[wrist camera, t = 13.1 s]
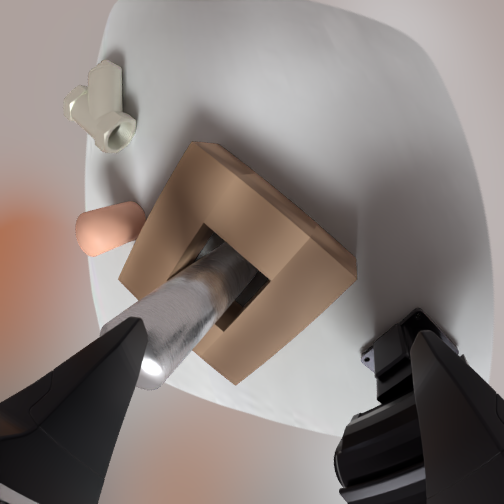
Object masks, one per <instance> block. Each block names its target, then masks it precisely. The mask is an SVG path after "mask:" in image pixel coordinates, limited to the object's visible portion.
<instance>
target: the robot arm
mask: <svg viewBox="0 0 504 504" xmlns="http://www.w3.org/2000/svg"><path fill="white" fill-rule="evenodd" d="M417 314H421V315H420V316H419V317H416V315H417ZM147 343H148V334H147V331H146V328H145V325H144V322H143V320H142V319H141V318H140V317H133V316H130V317H128V318H127V319H125V320H124V321H122V322H121V323H119V324H118V325H116V326H115V327H114V328H112V329H111V330H109V331H108V332H106V333H105V334H103V335H102V336H101V337H99V338H98V339H96V340H95V341H93V342H92V343H90V344H89V345H88V346H86V347H85V348H83V349H82V350H80V351H79V352H78V353H76V354H75V355H73V356H72V357H70V358H69V359H68V360H66V361H65V362H63V363H62V364H61V365H59V366H58V367H56V368H55V369H54V370H53V371H51V372H49V373H48V374H46V375H45V376H44V377H42V378H40V379H39V380H37V381H36V382H35V383H33V384H31V385H30V386H28V387H26V388H25V389H23V390H21V391H20V392H18V393H16V394H15V395H13V396H11V397H9V398H8V399H6V400H4V401H3V402H1V403H0V504H98V500H99V497H100V494H101V490H102V487H103V483H104V480H105V479H104V478H105V476H106V473H107V469H108V466H109V463H110V459H111V456H112V453H113V450H114V447H115V444H116V441H117V437H118V435H119V432H120V429H121V426H122V423H123V420H124V417H125V414H126V411H127V408H128V406H129V403H130V400H131V397H132V395H133V392H134V389H135V386H136V384H137V381H138V378H139V374H140V370H141V366H142V362H143V358H144V354H145V350H146V347H147ZM458 354H459V351H458V349H457V347H456V346H455V345H454V344H453V343H452V342H451V340H450V339H449V338H448V337H447V336H446V335H445V334H444V333H443V332H442V330H441V329H440V328H439V327H438V326H437V325H436V324H435V323H434V322H433V321H432V320H431V319H430V317H429V316H428V315H427V314H426V313H425V312H424V311H423V310H422V309H419V308H418V309H415V310H414V311H413V312H411V313H410V314H409V315H408V316H407V317H406V318H405V319H404V320H403V321H402V322H400V323H399V324H396V325H395V326H393V327H392V328H391V329H390V330H389V331H388V332H386V333H385V334H384V335H383V336H382V337H381V338H379V339H378V340H377V341H376V342H374V345H373V346H372V347H371V348H369V349H368V350H367V351H366V352H364V353H363V354H362V356H361V362H362V363H363V364H364V365H365V366H367V367H368V368H369V369H370V370H371V371H373V372H374V373H375V378H376V379H377V400H378V401H379V402H380V403H381V405H379V406H377V407H375V408H373V409H371V410H369V411H366V412H364V413H359V414H357V415H354V416H353V418H352V420H351V422H350V423H349V424H348V425H347V426H346V428H345V431H344V434H343V437H342V439H341V441H340V443H339V445H338V446H337V448H336V451H335V455H334V467H335V472H336V475H337V478H338V480H339V482H340V484H341V485H342V486H343V488H340V490H339V493H340V494H341V496H342V497H343V498H344V499H345V501H346V502H347V503H348V504H504V400H503V399H502V398H501V397H500V395H499V394H496V392H495V390H494V389H493V388H491V386H490V385H489V384H488V383H486V382H485V381H484V380H483V379H482V378H481V377H480V376H479V375H478V374H477V373H476V372H475V371H474V370H473V369H472V368H471V367H470V366H469V364H468V362H467V360H466V358H465V356H464V354H463V355H461V356H460V357H459V356H458ZM366 357H369V359H365V358H366Z"/></svg>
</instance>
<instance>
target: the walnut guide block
mask: <svg viewBox="0 0 504 504" xmlns="http://www.w3.org/2000/svg"><path fill="white" fill-rule="evenodd" d="M214 232H215V233H216V234H218V235H219V236H220V237H221V238H222V239H223V240H224V241H226V242H227V243H228V244H229V245H230V246H231V247H233V248H234V249H235V250H236V251H237V252H238V253H239V254H241V255H242V256H243V257H244V258H245V259H246V260H248V261H249V262H250V263H251V264H252V265H253V266H255V267H256V268H257V269H258V270H259V271H260V272H262V273H263V274H264V275H265V276H266V277H267V278H269V279H268V280H267V282H266V283H265V284H264V285H263V286H262V287H261V288H260V289H259V290H258V291H257V293H256V294H255V295H254V296H253V297H252V298H251V299H250V300H249V301H248V302H247V304H246V305H245V306H244V307H242V306H241V305H240V304H238V303H237V302H236V301H235V300H234V301H233V303H232V304H231V305H230V306H229V307H228V309H227V310H226V311H225V312H224V313H223V314H222V316H221V317H220V318H219V319H218V320H217V322H216V323H215V324H214V325H213V326H212V327H211V329H210V330H209V331H208V332H207V333H206V334H205V336H204V337H203V338H202V339H201V340H200V341H199V343H198V344H197V345H196V346H195V347H194V348H193V351H194V352H195V353H196V354H197V355H198V356H200V357H201V358H202V359H203V360H204V361H205V362H207V363H208V364H209V365H210V366H211V367H213V368H214V369H215V370H216V371H218V372H219V373H220V374H221V375H223V376H224V377H225V378H226V379H228V380H229V381H230V382H231V383H233V384H234V385H235V386H236V385H237V384H238V383H240V382H241V381H242V380H243V379H245V378H246V377H247V376H249V375H250V374H251V373H252V372H254V371H255V370H256V369H257V368H259V367H260V366H261V365H262V364H264V363H265V362H266V361H267V360H268V359H270V358H271V357H272V356H273V355H274V354H276V353H277V352H278V351H279V350H280V349H282V348H283V347H284V346H285V345H286V344H287V343H289V342H290V341H291V340H292V339H293V338H294V337H296V336H297V335H298V334H299V333H300V332H301V331H302V330H304V329H305V328H306V327H307V326H308V325H309V324H310V323H311V322H312V321H314V320H315V319H316V318H317V317H318V316H319V315H320V314H321V313H322V312H323V311H325V310H326V309H327V308H328V307H329V306H330V305H331V304H332V303H333V302H334V301H335V300H336V299H337V298H338V297H339V296H340V295H341V294H342V293H344V292H345V291H346V290H347V289H348V288H349V287H350V286H351V285H352V284H353V283H354V282H355V281H356V280H357V266H356V258H355V257H354V256H353V255H352V254H351V253H350V252H349V251H348V250H347V249H345V248H344V247H343V246H342V245H341V244H340V243H339V242H338V241H337V240H335V239H334V238H333V237H332V236H331V235H330V234H329V233H327V232H326V231H325V230H324V229H323V228H322V227H321V226H319V225H318V224H317V223H316V222H315V221H314V220H313V219H311V218H310V217H309V216H308V215H307V214H306V213H304V212H303V211H302V210H301V209H300V208H298V207H297V206H296V205H295V204H294V203H293V202H291V201H290V200H289V199H288V198H287V197H285V196H284V195H283V194H282V193H280V192H279V191H278V190H277V189H276V188H274V187H273V186H272V185H271V184H269V183H268V182H267V181H266V180H264V179H263V178H262V177H261V176H259V175H258V174H257V173H256V172H254V171H253V170H252V169H251V168H249V167H248V166H247V165H245V164H244V163H243V162H242V161H240V160H239V159H238V158H236V157H235V156H234V155H233V154H231V153H230V152H229V151H227V150H226V149H225V148H223V147H222V146H221V145H219V144H214V143H205V142H194V141H192V142H191V143H190V145H189V147H188V148H187V150H186V151H185V153H184V155H183V156H182V158H181V160H180V161H179V163H178V165H177V166H176V168H175V170H174V171H173V173H172V175H171V177H170V178H169V180H168V182H167V183H166V185H165V187H164V189H163V191H162V192H161V194H160V196H159V198H158V200H157V201H156V203H155V205H154V207H153V209H152V211H151V213H150V214H149V216H148V218H147V220H146V222H145V224H144V226H143V228H142V230H141V232H140V234H139V236H138V238H137V240H136V242H135V244H134V246H133V248H132V250H131V252H130V254H129V256H128V259H127V261H126V263H125V265H124V267H123V269H122V272H121V274H120V276H119V278H118V280H119V281H120V282H121V283H122V284H123V285H124V286H125V287H126V288H127V289H128V290H129V291H130V292H131V293H132V294H133V295H134V296H135V297H136V298H137V299H138V300H141V299H142V298H143V297H145V296H146V295H148V294H149V293H151V292H152V291H154V290H155V289H156V288H158V287H159V286H161V285H162V284H164V283H165V282H167V281H168V280H170V279H171V278H173V277H174V276H175V275H177V274H178V273H180V272H181V271H183V270H184V269H186V268H187V267H189V266H190V265H192V264H193V262H194V260H195V259H196V257H197V256H198V255H199V253H200V252H201V250H202V249H203V247H204V246H205V244H206V243H207V242H208V240H209V239H210V237H211V236H212V234H213V233H214Z"/></svg>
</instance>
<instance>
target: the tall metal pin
mask: <svg viewBox="0 0 504 504" xmlns="http://www.w3.org/2000/svg"><path fill="white" fill-rule="evenodd" d="M257 270H258V269H257V268H256V267H255V266H253V265H252V264H251V263H250V262H249V261H248V260H246V259H245V258H244V257H243V256H242V255H241V254H239V253H238V252H237V251H236V250H235V249H234V248H233V247H231V246H230V245H229V244H228V243H227V242H225V243H223V244H222V245H220V246H219V247H217V248H216V249H214V250H213V251H211V252H210V253H208V254H207V255H205V256H204V257H202V258H201V259H199V260H198V261H196V262H195V263H193V264H192V265H190V266H189V267H187V268H186V269H184V270H183V271H181V272H180V273H178V274H177V275H175V276H174V277H173V278H171V279H170V280H168V281H167V282H165V283H164V284H162V285H161V286H159V287H158V288H156V289H155V290H154V291H152V292H151V293H149V294H148V295H146V296H145V297H143V298H142V299H141V300H139V301H138V302H136V303H135V304H133V305H132V306H130V307H129V308H128V309H126V310H125V311H123V312H122V313H120V314H119V315H118V316H116V317H115V318H113V319H112V320H111V321H109V322H108V323H106V324H105V325H104V326H103V327H102V329H101V332H100V337H101V336H102V335H103V334H105V333H106V332H108V331H109V330H111V329H112V328H114V327H115V326H116V325H118V324H119V323H121V322H122V321H124V320H125V319H127V318H128V317H130V316H133V317H140V318H141V319H142V320H143V322H144V325H145V328H146V331H147V334H148V343H147V347H146V350H145V354H144V358H143V362H142V366H141V370H140V374H139V378H138V381H137V384H136V387H138V388H141V389H145V390H155V389H158V388H159V387H160V386H161V385H162V384H163V383H164V382H165V381H166V379H167V378H168V377H169V376H170V375H171V374H172V373H173V371H174V370H175V369H176V368H177V367H178V366H179V365H180V363H181V362H182V361H183V360H184V359H185V358H186V356H187V355H188V354H189V353H190V352H191V351H192V350H193V348H194V347H195V346H196V345H197V344H198V343H199V341H200V340H201V339H202V338H203V337H204V336H205V334H206V333H207V332H208V331H209V330H210V329H211V327H212V326H213V325H214V324H215V323H216V322H217V320H218V319H219V318H220V317H221V316H222V314H223V313H224V312H225V311H226V310H227V309H228V307H229V306H230V305H231V304H232V303H233V301H234V300H235V299H236V298H237V297H238V296H239V294H240V293H241V292H242V291H243V290H244V288H245V287H246V286H247V285H248V284H249V282H250V281H251V280H252V279H253V278H254V276H255V275H256V273H257Z"/></svg>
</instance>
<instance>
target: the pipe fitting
mask: <svg viewBox="0 0 504 504" xmlns="http://www.w3.org/2000/svg"><path fill="white" fill-rule="evenodd" d="M63 109H64V116H65V117H66V118H67V119H68V120H69V121H73V122H76V123H77V124H78V125H79V126H80V127H81V128H83V129H84V130H85V131H86V132H87V133H88V134H89V135H90V136H91V137H92V138H93V139H94V140H95V145H96V146H97V147H98V148H99V149H100V150H101V151H102V152H105V153H118V152H120V151H121V150H123V149H124V148H125V147H126V146H127V145H128V144H129V143H130V141H131V140H132V138H133V136H134V134H135V130H136V120H135V119H134V118H132V117H131V116H130V115H128V114H126V113H123V106H122V68H121V67H120V66H118V65H115V64H114V63H112V62H110V60H103V61H101V63H100V64H98V65H97V67H95V68H93V69H92V70H91V71H90V72H89V74H88V87H86V86H82V85H79V86H77V87H76V88H74V89H73V90H72V91H71V92H70V93H69V94H68V95H67V96H66V97H65V99H64V108H63Z"/></svg>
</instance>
